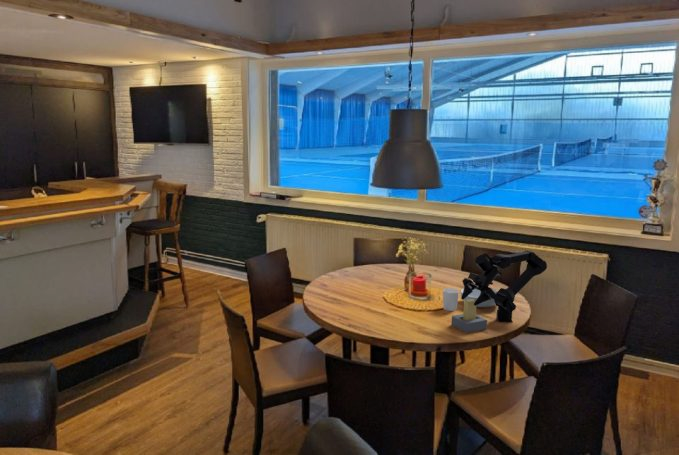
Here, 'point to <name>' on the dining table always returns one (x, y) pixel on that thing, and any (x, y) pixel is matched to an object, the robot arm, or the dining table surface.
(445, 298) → the white cup
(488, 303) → the serving bowl
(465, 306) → the pale yellow block
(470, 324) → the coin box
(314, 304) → the dining table surface
